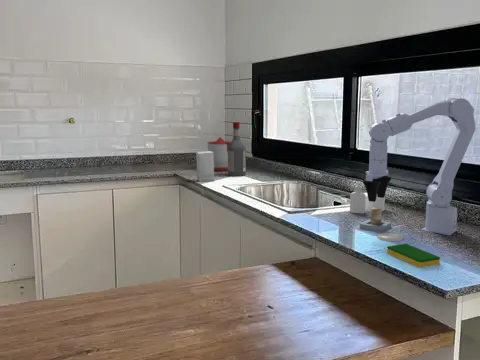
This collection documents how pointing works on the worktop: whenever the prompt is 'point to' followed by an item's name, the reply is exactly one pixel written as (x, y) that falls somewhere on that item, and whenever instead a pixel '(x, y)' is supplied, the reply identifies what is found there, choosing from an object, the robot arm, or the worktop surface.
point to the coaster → (390, 237)
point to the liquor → (236, 154)
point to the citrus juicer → (219, 154)
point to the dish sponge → (413, 255)
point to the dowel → (375, 216)
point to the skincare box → (205, 166)
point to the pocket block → (376, 227)
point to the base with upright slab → (374, 203)
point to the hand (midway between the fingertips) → (376, 199)
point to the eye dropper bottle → (357, 200)
